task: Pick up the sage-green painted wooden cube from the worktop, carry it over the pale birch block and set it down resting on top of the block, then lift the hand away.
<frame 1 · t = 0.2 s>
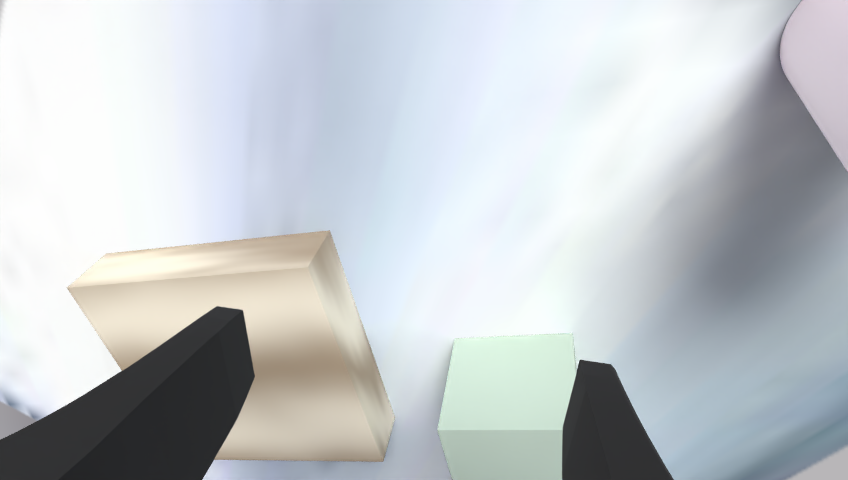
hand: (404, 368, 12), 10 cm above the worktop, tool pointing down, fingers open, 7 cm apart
birch block: (261, 333, 27), on the worktop
sage cube: (519, 376, 25), on the worktop
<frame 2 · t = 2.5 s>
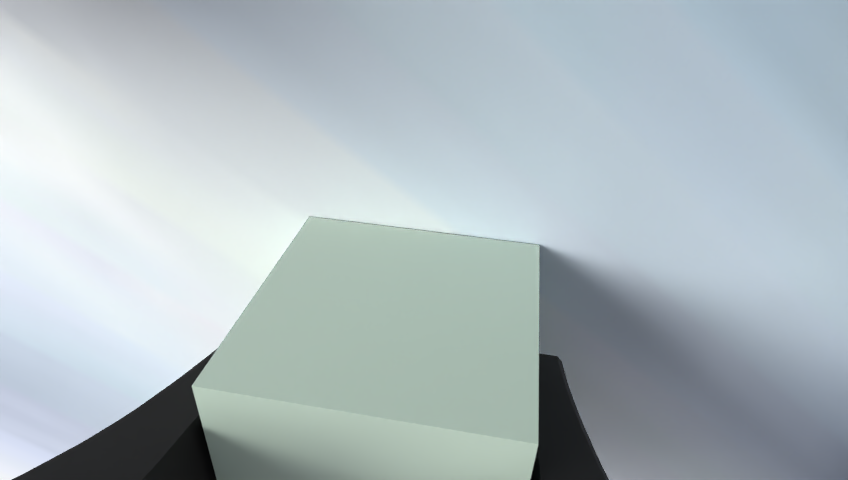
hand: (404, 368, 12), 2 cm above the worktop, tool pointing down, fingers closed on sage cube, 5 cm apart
sage cube: (417, 319, 13), on the worktop, touching gripper
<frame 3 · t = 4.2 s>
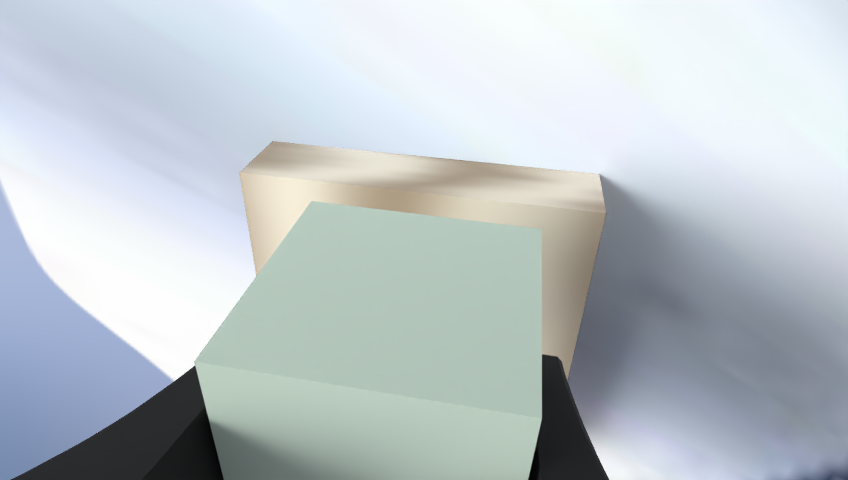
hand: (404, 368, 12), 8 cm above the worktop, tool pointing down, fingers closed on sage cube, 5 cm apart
birch block: (426, 281, 22), on the worktop
sage cube: (419, 305, 13), point 7 cm above the worktop, touching gripper
when the fingers open (6 cm above the worktop, at t = 5.9 s): sage cube drops 1 cm, resting on birch block.
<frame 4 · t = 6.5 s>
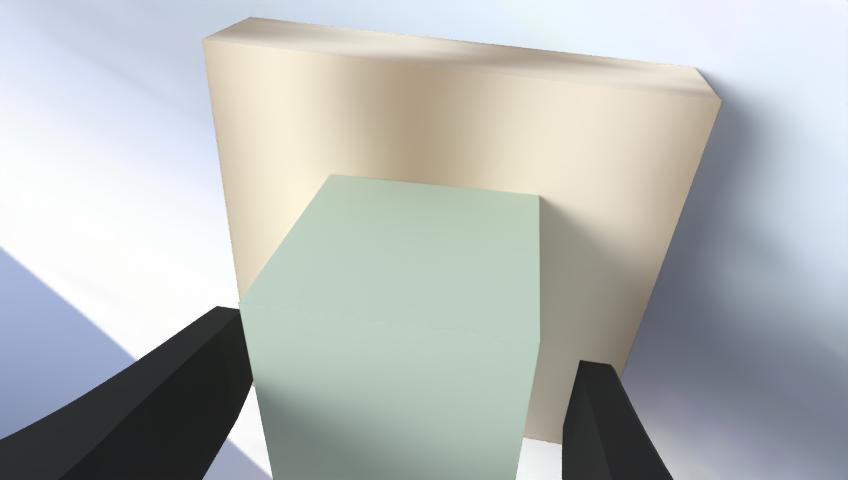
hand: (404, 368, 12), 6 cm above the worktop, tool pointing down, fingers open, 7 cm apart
birch block: (445, 221, 17), on the worktop, touching sage cube
sage cube: (429, 270, 15), point 2 cm above the worktop, touching birch block
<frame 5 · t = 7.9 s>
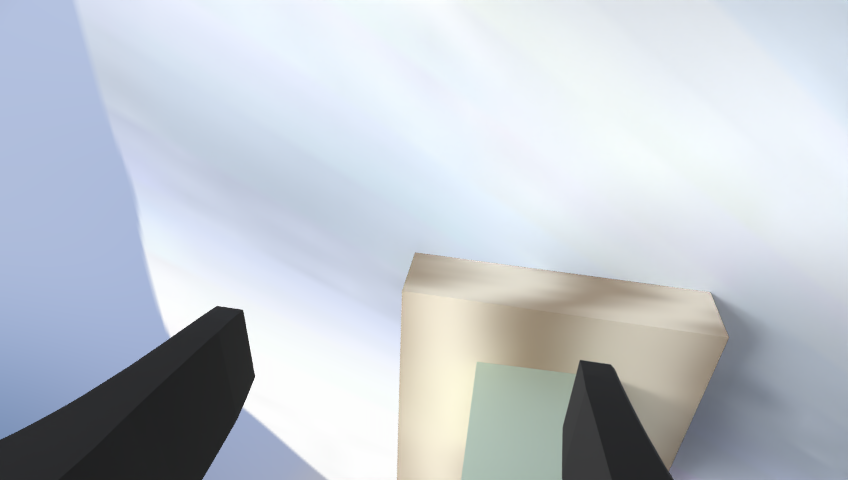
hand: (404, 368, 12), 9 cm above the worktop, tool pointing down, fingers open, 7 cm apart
birch block: (536, 366, 25), on the worktop
sage cube: (537, 416, 22), point 2 cm above the worktop
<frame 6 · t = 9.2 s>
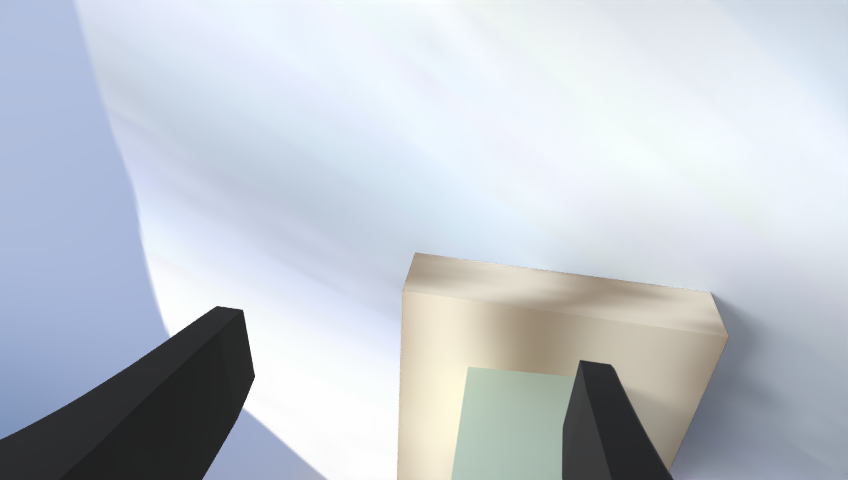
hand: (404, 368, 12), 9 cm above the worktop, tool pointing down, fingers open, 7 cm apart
birch block: (536, 366, 25), on the worktop, touching sage cube
sage cube: (531, 418, 22), point 2 cm above the worktop, touching birch block
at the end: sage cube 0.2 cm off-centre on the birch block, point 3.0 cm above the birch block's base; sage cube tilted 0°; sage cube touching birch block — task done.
